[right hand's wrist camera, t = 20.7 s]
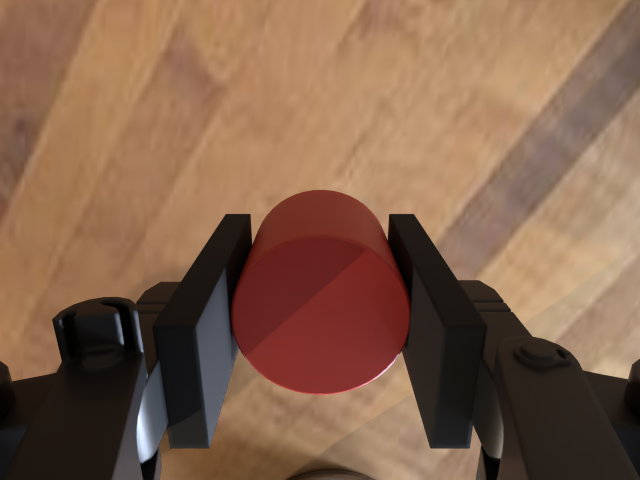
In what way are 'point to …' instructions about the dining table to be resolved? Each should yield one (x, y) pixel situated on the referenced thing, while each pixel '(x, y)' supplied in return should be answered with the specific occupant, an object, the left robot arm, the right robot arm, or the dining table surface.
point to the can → (320, 296)
